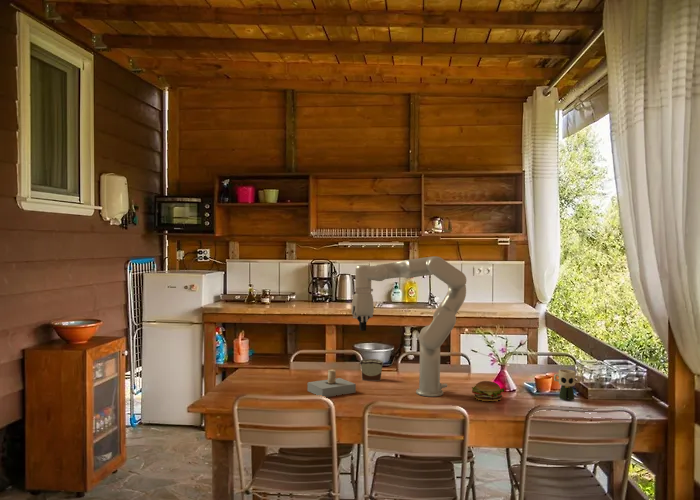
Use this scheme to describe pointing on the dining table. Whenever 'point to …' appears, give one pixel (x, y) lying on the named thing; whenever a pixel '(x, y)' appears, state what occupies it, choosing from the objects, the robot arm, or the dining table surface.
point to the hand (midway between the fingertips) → (362, 330)
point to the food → (487, 391)
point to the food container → (371, 369)
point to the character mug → (566, 383)
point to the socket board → (331, 387)
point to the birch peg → (331, 377)
